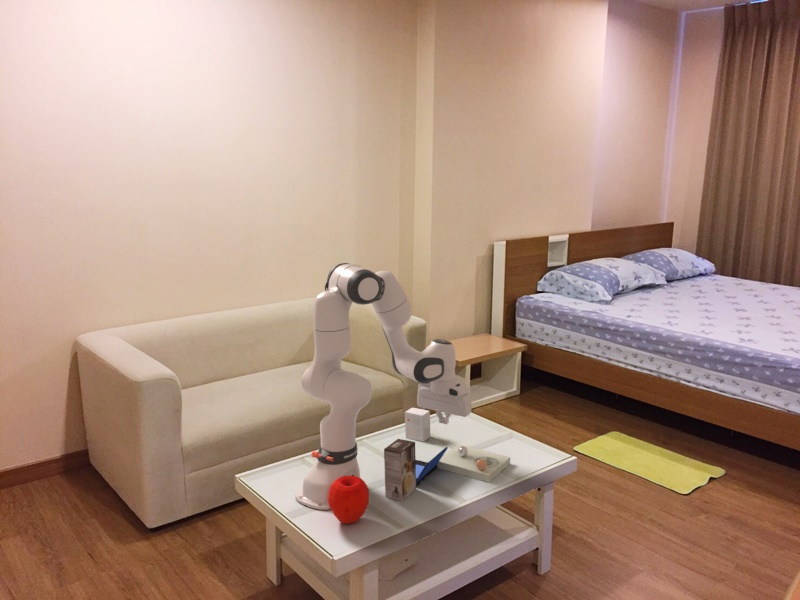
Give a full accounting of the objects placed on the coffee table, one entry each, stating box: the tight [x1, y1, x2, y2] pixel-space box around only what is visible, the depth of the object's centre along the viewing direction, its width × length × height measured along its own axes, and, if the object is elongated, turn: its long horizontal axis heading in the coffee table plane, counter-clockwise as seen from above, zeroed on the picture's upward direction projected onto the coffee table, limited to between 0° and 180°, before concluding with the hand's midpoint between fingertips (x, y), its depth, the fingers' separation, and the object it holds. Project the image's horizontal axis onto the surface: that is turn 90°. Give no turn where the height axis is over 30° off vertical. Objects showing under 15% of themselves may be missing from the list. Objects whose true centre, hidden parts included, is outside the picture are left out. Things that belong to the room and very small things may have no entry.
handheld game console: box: [416, 446, 448, 488], centre depth 211 cm, size 16×13×9 cm
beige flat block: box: [437, 443, 511, 483], centre depth 218 cm, size 16×20×2 cm
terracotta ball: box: [476, 459, 487, 470], centre depth 210 cm, size 4×4×4 cm
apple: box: [328, 476, 370, 525], centre depth 183 cm, size 12×12×13 cm
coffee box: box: [383, 438, 417, 502], centre depth 199 cm, size 9×6×16 cm
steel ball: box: [458, 445, 468, 457], centre depth 220 cm, size 4×4×4 cm
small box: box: [404, 407, 431, 443], centre depth 242 cm, size 8×6×10 cm
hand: (443, 423), depth 223 cm, fingers closed
